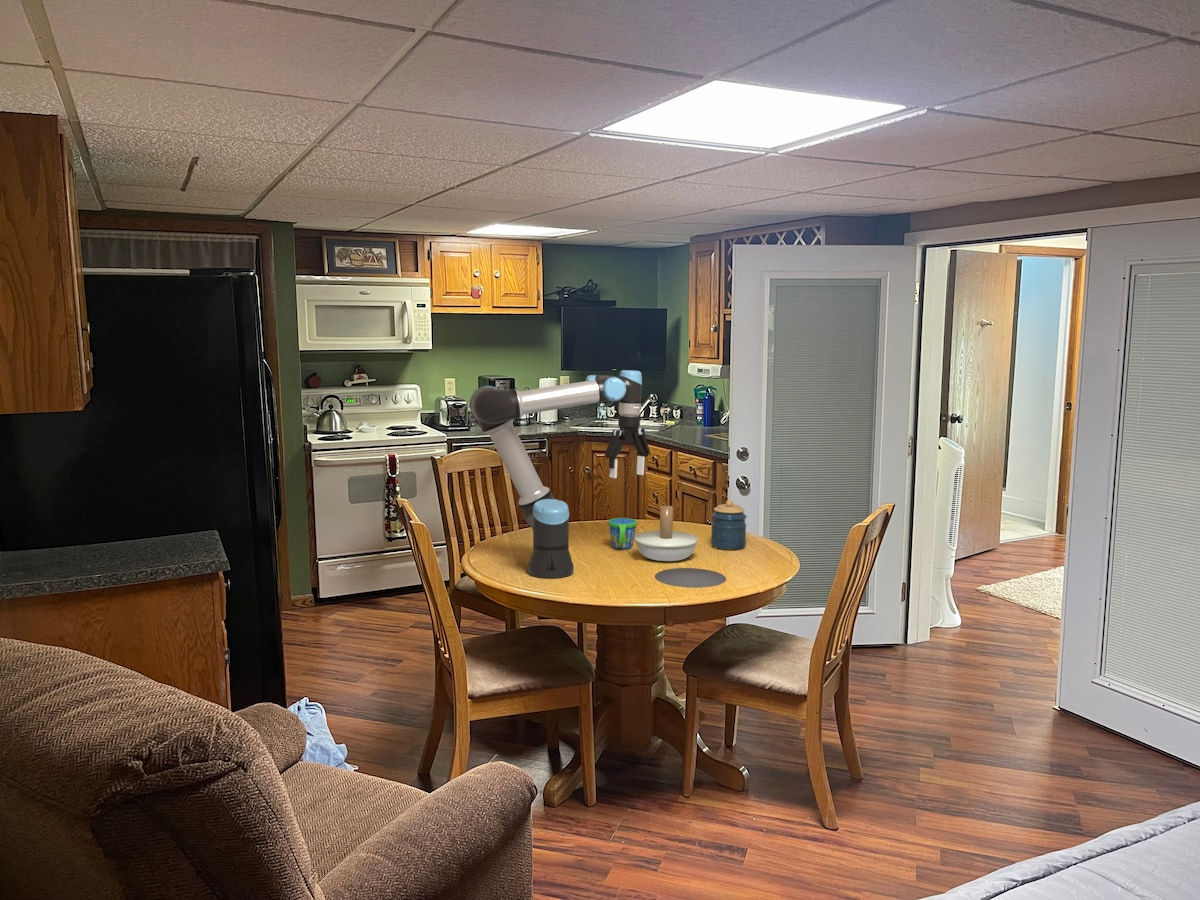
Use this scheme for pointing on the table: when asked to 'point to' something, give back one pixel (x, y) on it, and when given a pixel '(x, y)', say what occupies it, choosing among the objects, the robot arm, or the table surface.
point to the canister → (728, 526)
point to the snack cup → (622, 532)
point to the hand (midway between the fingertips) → (626, 476)
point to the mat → (690, 577)
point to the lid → (666, 533)
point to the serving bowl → (666, 552)
